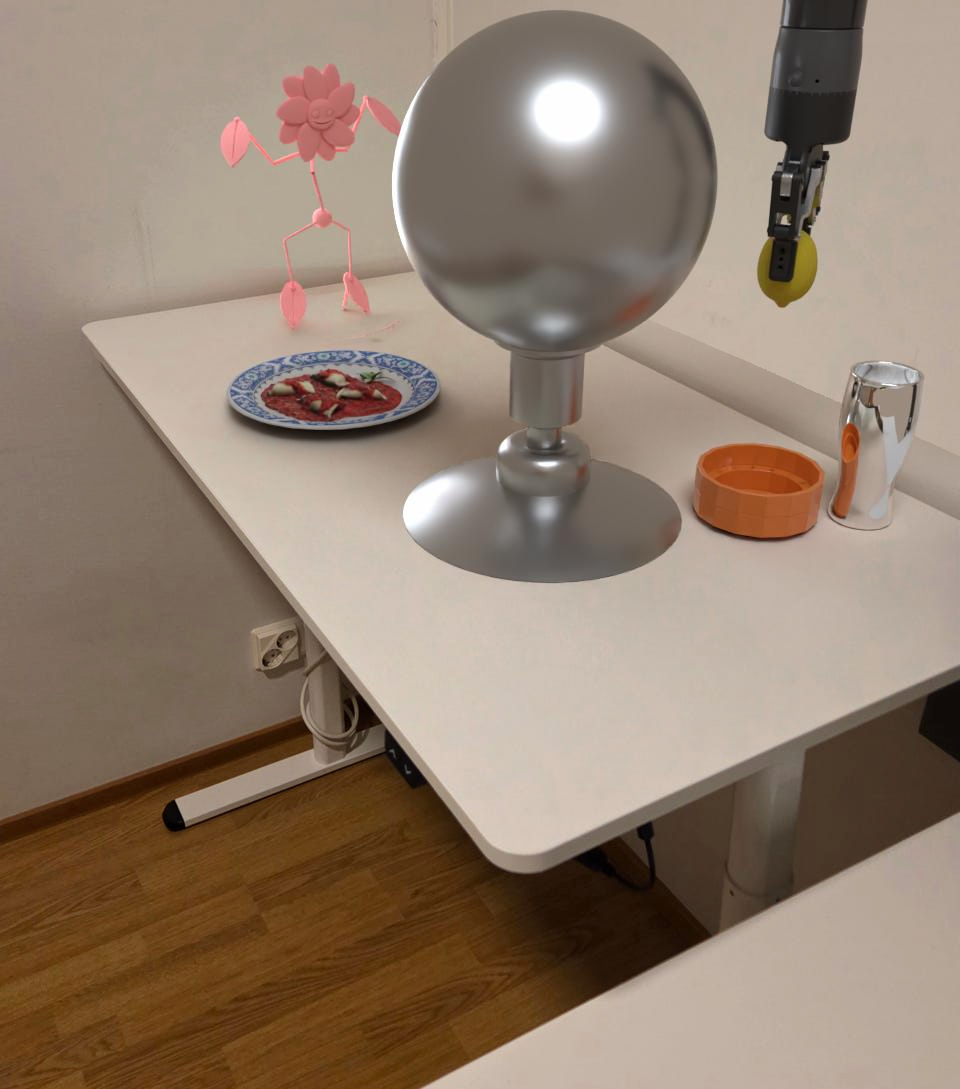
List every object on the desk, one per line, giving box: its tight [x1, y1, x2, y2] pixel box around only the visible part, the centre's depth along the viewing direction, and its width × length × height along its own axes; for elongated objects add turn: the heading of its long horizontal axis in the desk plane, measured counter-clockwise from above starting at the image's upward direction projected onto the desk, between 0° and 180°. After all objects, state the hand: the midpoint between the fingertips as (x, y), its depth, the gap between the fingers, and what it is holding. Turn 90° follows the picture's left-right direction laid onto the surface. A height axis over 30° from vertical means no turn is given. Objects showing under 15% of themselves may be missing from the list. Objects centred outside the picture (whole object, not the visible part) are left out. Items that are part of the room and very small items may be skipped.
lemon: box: [756, 230, 818, 309], centre depth 105 cm, size 6×6×8 cm
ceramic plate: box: [225, 349, 442, 431], centre depth 134 cm, size 26×26×3 cm
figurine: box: [220, 63, 402, 337], centre depth 152 cm, size 15×26×35 cm, turn 122°
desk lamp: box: [391, 9, 719, 583], centre depth 99 cm, size 28×28×45 cm
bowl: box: [692, 442, 826, 538], centre depth 108 cm, size 12×12×5 cm
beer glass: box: [827, 360, 925, 531], centre depth 106 cm, size 7×7×15 cm
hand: (787, 271), depth 106 cm, fingers closed on lemon, 5 cm apart
